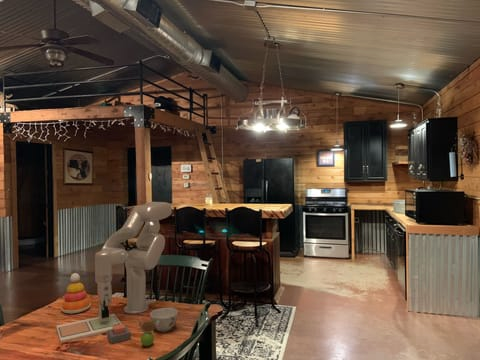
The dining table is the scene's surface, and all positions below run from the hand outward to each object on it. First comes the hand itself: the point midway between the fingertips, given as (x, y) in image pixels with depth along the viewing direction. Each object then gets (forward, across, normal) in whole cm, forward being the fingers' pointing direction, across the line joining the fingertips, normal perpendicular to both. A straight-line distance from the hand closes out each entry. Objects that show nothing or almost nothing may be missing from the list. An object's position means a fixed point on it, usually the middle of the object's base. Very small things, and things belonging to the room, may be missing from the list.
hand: (104, 315), depth 168 cm
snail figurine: (+5, -31, -10) cm, 33 cm away
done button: (+2, -18, -2) cm, 18 cm away
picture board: (+5, 0, +7) cm, 8 cm away
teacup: (+5, -21, -21) cm, 30 cm away
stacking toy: (+5, +28, +9) cm, 30 cm away
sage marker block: (+2, 0, 0) cm, 2 cm away
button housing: (+4, -18, -2) cm, 19 cm away
